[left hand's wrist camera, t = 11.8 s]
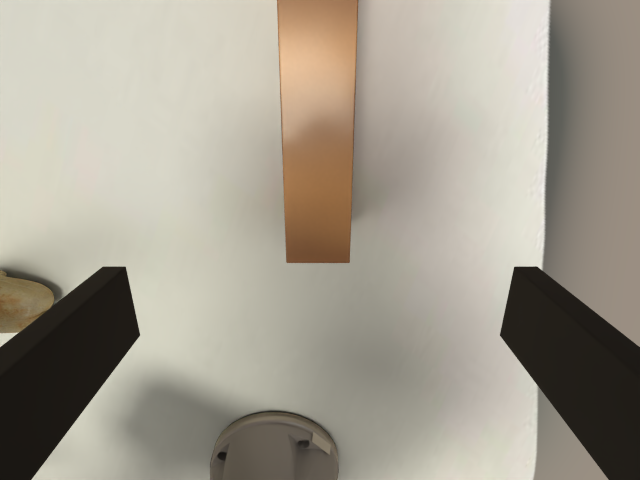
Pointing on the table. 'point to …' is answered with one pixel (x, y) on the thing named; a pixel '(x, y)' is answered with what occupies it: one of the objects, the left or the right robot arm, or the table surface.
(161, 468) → the table surface
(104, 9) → the table surface
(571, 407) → the left robot arm
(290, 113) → the beam
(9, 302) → the sculpture
